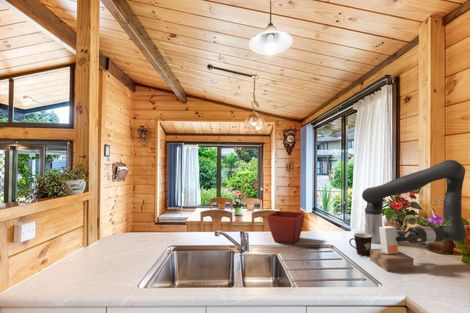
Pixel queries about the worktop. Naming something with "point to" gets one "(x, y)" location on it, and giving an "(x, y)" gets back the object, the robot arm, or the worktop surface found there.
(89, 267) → the worktop surface
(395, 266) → the walnut block
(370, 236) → the coffee mug
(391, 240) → the skincare box
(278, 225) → the plant pot
